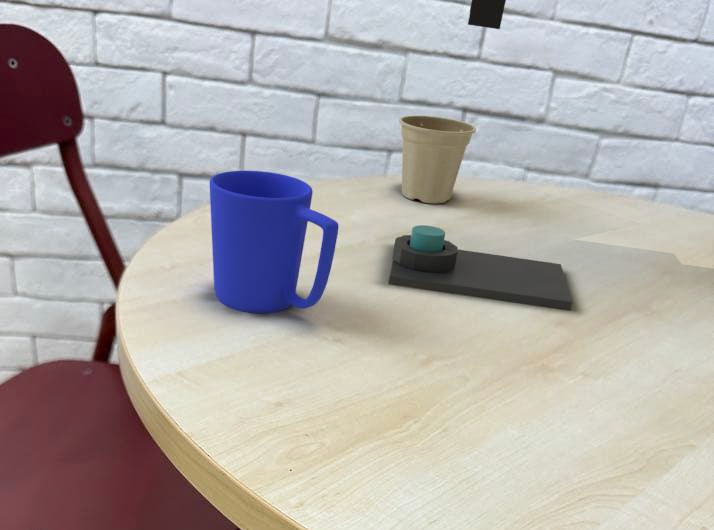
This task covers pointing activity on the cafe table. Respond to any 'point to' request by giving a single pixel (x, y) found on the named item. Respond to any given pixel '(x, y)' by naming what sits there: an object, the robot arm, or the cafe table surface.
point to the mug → (264, 240)
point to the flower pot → (432, 156)
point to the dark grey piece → (479, 275)
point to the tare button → (427, 238)
